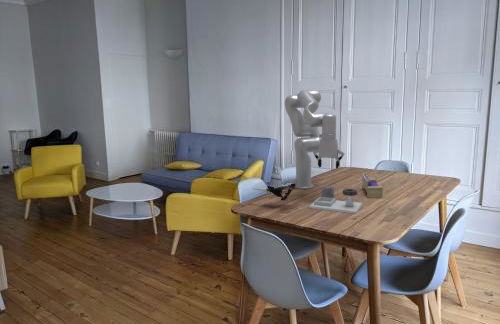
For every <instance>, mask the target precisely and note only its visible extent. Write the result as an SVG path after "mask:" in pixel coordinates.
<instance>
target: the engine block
mask: <svg viewBox="0 0 500 324" xmlns="http://www.w3.org/2000/svg"><path fill="white" fill-rule="evenodd" d="M334 190H335V188H334V187H332V186H327V185H326V186H324V187H323V189H321V197H326V198H335V197H334V196H335V195H334V193H335V191H334Z"/></svg>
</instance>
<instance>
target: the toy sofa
mask: <svg viewBox="0 0 500 324" xmlns="http://www.w3.org/2000/svg"><path fill="white" fill-rule="evenodd" d="M361 181H362V182H361V183H362V185H361V187H362V188H361V189H362V190H365V192H366V198H368V199H369V198H371V199H372V198H374V199H375V198H378V199H380V198H381V199H382V198H383V194H384V193H383V191H384V190H383V189H384V187H383V185H381V186H380V185H379V184H378V183H377V181H378V180H377V178H369V177H368V176H367V175H366V173H362V180H361Z"/></svg>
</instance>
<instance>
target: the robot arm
mask: <svg viewBox="0 0 500 324" xmlns="http://www.w3.org/2000/svg"><path fill="white" fill-rule="evenodd" d="M284 100H285V101H284V108H285V111H286V114H287V115H288V117H289V120H290V124H291V127H292V132H293V135H294V136H295V138H297V139H295V141H294V143H293V144H294V151H295V179H290V180H289V182H290V183H291V184H295V185H296V186H295V187H294V189H295V188H296V189H301V190H309V189H313V187H314V184H313V183H312V158H311V156H310V155H309V153H313V155H314V157H315V158H316V160H317V166H318V168H321V167H322V158H325V159H327V158H328V159H335V169H339V167H340V161H341V160H342V159H343V158H344V155H345V152H343V151H342V150H339V144H338V139H337V138H336V137H337V134H336V133H337V116H336V114H333V113H331V114H330V113H325V112H322V113H315V112H317V110H318V109H319V104H320V102H321V100H322V96H321V93H320V91H319V90H317V89H304V90H303V89H302V90H300V91H299V92H298V93H297V94H291V95H288V96H286V98H285V99H284ZM298 109H303V112H301V111H300V110H298ZM319 128H321V134H320V130H319ZM339 154H340V156H339Z"/></svg>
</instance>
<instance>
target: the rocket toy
mask: <svg viewBox="0 0 500 324" xmlns="http://www.w3.org/2000/svg"><path fill="white" fill-rule="evenodd" d="M295 186H296V185H295V183H291V184H290V186H289V187H288V188H287V187H285V186H279V187H275V188H267V187H264V188H263V187H252V188H251V189H252V190H254V191H262V192H268V193H271V194H273V195H274V196H276V197H277V198H280V201H286V200H287V199H288V197H289V196H290V195H291V193H292V192H293V190H294V189H295ZM286 189H287V191H286V192H284V195H283V191H284V190H286Z"/></svg>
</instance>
